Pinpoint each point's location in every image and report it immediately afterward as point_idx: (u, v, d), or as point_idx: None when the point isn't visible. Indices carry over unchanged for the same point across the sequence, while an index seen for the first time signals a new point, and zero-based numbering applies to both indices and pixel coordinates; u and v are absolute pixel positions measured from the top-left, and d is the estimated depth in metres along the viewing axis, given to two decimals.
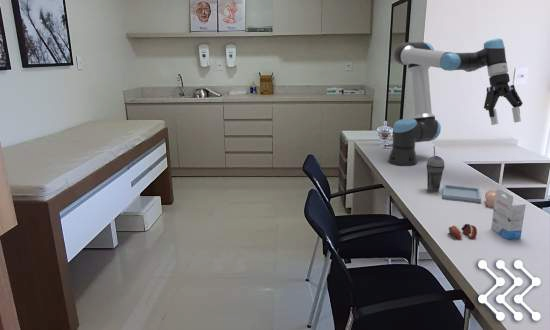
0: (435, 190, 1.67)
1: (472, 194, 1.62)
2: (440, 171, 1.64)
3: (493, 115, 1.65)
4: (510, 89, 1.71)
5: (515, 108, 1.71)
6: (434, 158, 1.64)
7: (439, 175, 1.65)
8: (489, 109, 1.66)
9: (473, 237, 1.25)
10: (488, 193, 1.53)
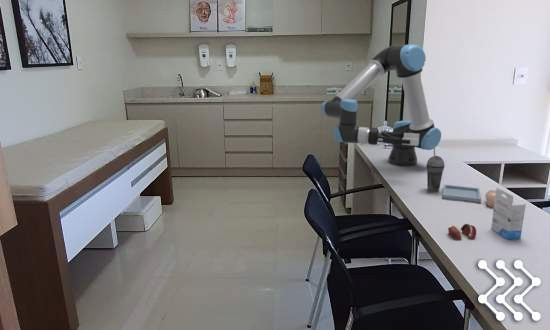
0: (435, 190, 1.67)
1: (472, 194, 1.62)
2: (440, 171, 1.64)
3: None
4: None
5: None
6: (434, 158, 1.64)
7: (439, 175, 1.65)
8: None
9: (473, 237, 1.25)
10: (488, 193, 1.53)
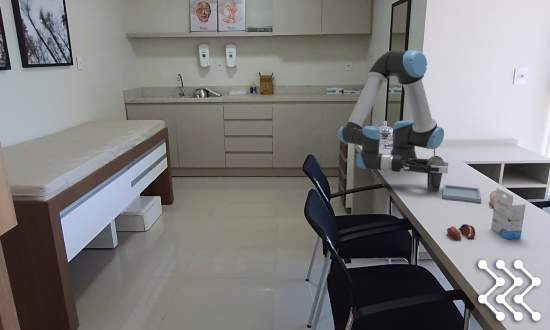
0: (435, 190, 1.67)
1: (472, 194, 1.62)
2: None
3: None
4: None
5: None
6: (434, 158, 1.64)
7: (439, 175, 1.65)
8: None
9: (472, 237, 1.25)
10: None
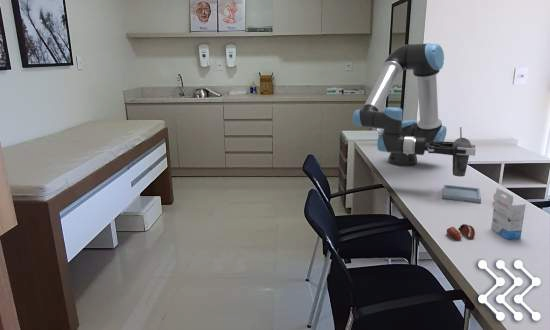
0: (461, 174, 1.59)
1: (472, 194, 1.62)
2: None
3: None
4: None
5: None
6: (460, 140, 1.56)
7: (466, 158, 1.56)
8: None
9: (472, 237, 1.25)
10: None
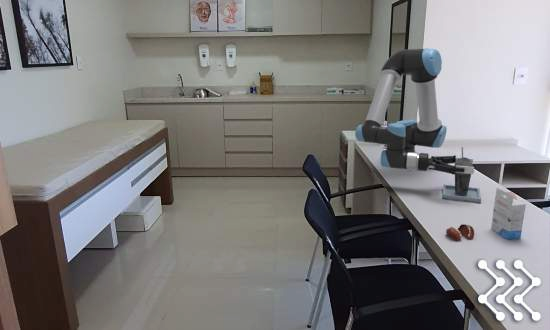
0: (463, 193, 1.61)
1: (472, 194, 1.62)
2: None
3: None
4: None
5: None
6: (462, 160, 1.58)
7: (468, 177, 1.58)
8: None
9: (471, 237, 1.25)
10: None
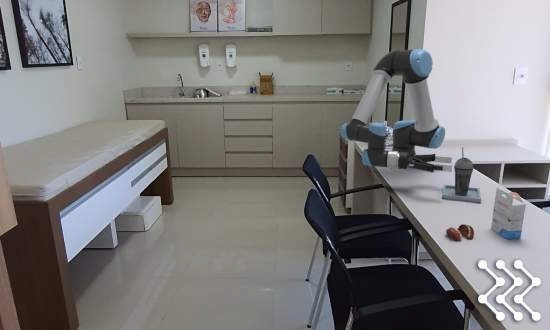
0: (463, 193, 1.61)
1: (472, 194, 1.62)
2: (469, 173, 1.58)
3: None
4: None
5: None
6: (463, 160, 1.58)
7: (468, 178, 1.58)
8: None
9: (471, 237, 1.25)
10: None
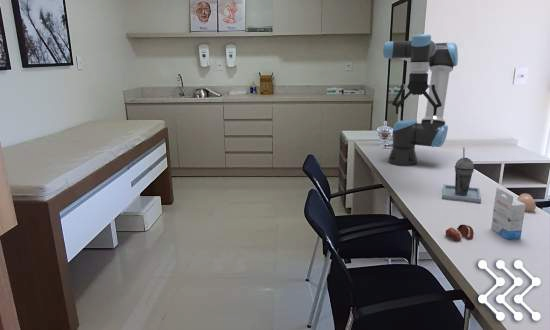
0: (463, 193, 1.61)
1: (472, 194, 1.62)
2: (469, 174, 1.58)
3: (397, 113, 1.72)
4: (430, 88, 1.65)
5: (431, 109, 1.67)
6: (463, 160, 1.58)
7: (468, 178, 1.58)
8: (396, 106, 1.73)
9: (471, 237, 1.25)
10: None
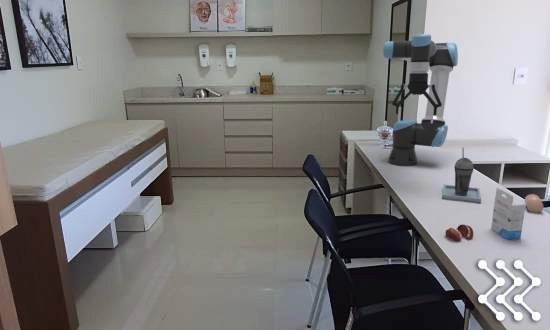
0: (463, 193, 1.61)
1: (472, 194, 1.62)
2: (469, 174, 1.58)
3: (397, 113, 1.72)
4: (430, 88, 1.65)
5: (432, 109, 1.67)
6: (463, 160, 1.58)
7: (468, 178, 1.58)
8: (396, 106, 1.73)
9: (471, 237, 1.25)
10: (525, 202, 1.48)
